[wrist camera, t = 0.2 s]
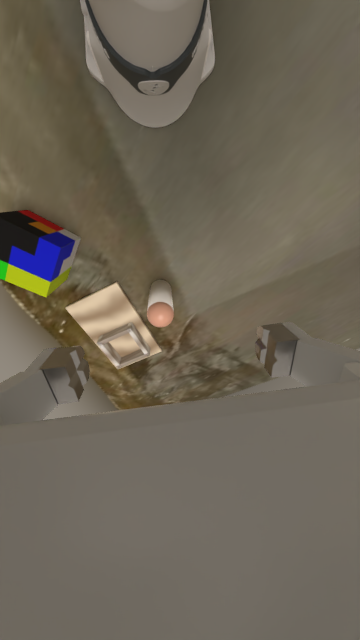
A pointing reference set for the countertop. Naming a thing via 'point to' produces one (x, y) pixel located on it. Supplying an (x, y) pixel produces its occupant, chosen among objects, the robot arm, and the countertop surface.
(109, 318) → the jig cradle
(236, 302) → the countertop surface
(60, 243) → the puzzle toy
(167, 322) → the dome-capped white cylinder
